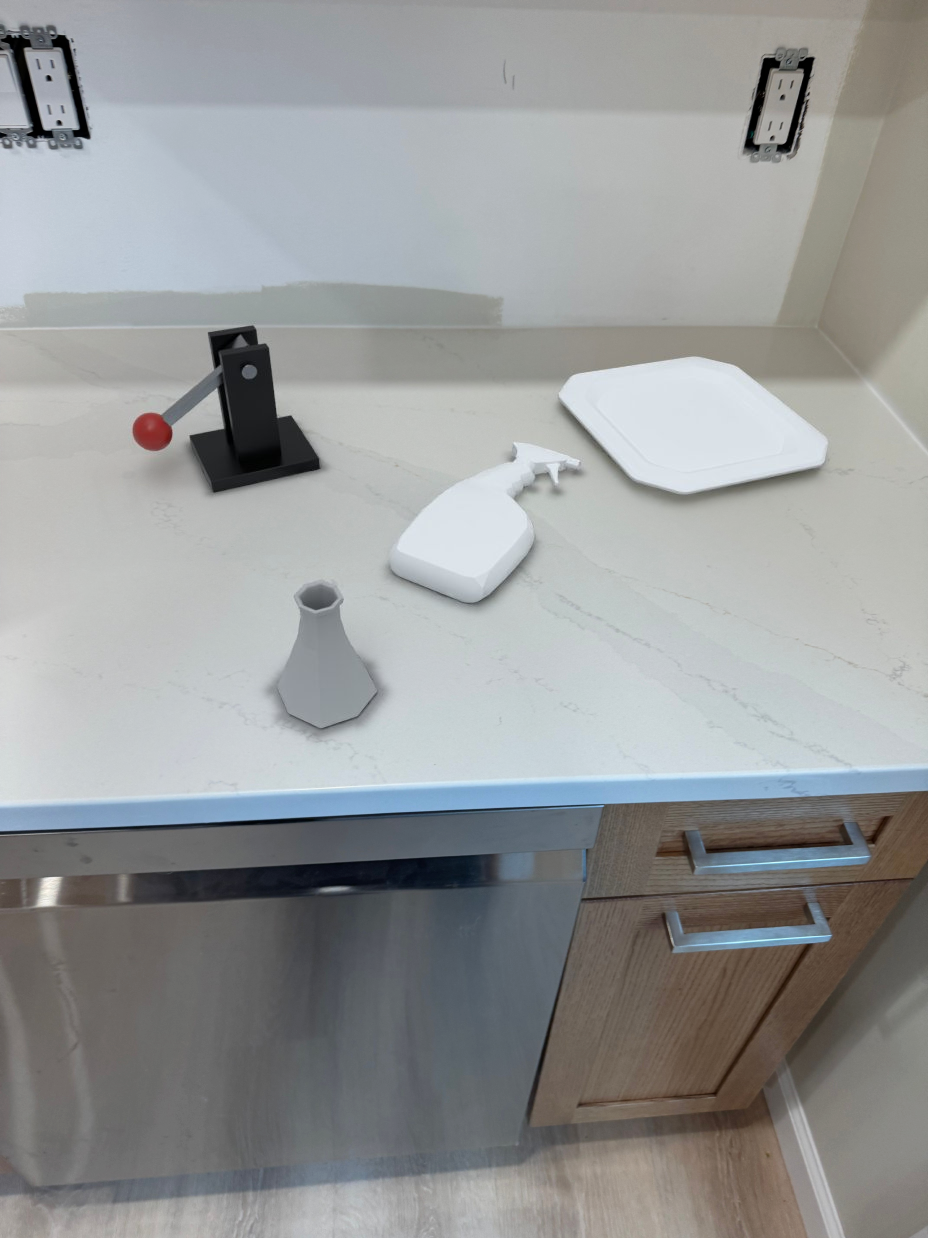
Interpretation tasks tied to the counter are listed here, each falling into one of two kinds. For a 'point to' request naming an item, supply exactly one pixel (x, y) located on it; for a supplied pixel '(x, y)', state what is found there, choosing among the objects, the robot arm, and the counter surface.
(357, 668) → the flask
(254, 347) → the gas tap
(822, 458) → the plate
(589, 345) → the counter surface
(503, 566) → the spray bottle
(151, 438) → the lever
